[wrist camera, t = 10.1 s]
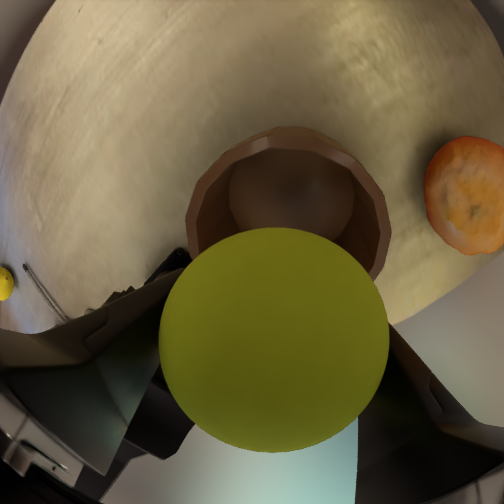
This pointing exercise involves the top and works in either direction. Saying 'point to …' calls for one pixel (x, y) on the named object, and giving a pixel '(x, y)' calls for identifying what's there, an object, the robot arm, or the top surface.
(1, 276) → the lemon
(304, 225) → the bucket
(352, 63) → the top surface
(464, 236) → the fruit
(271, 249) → the ball
